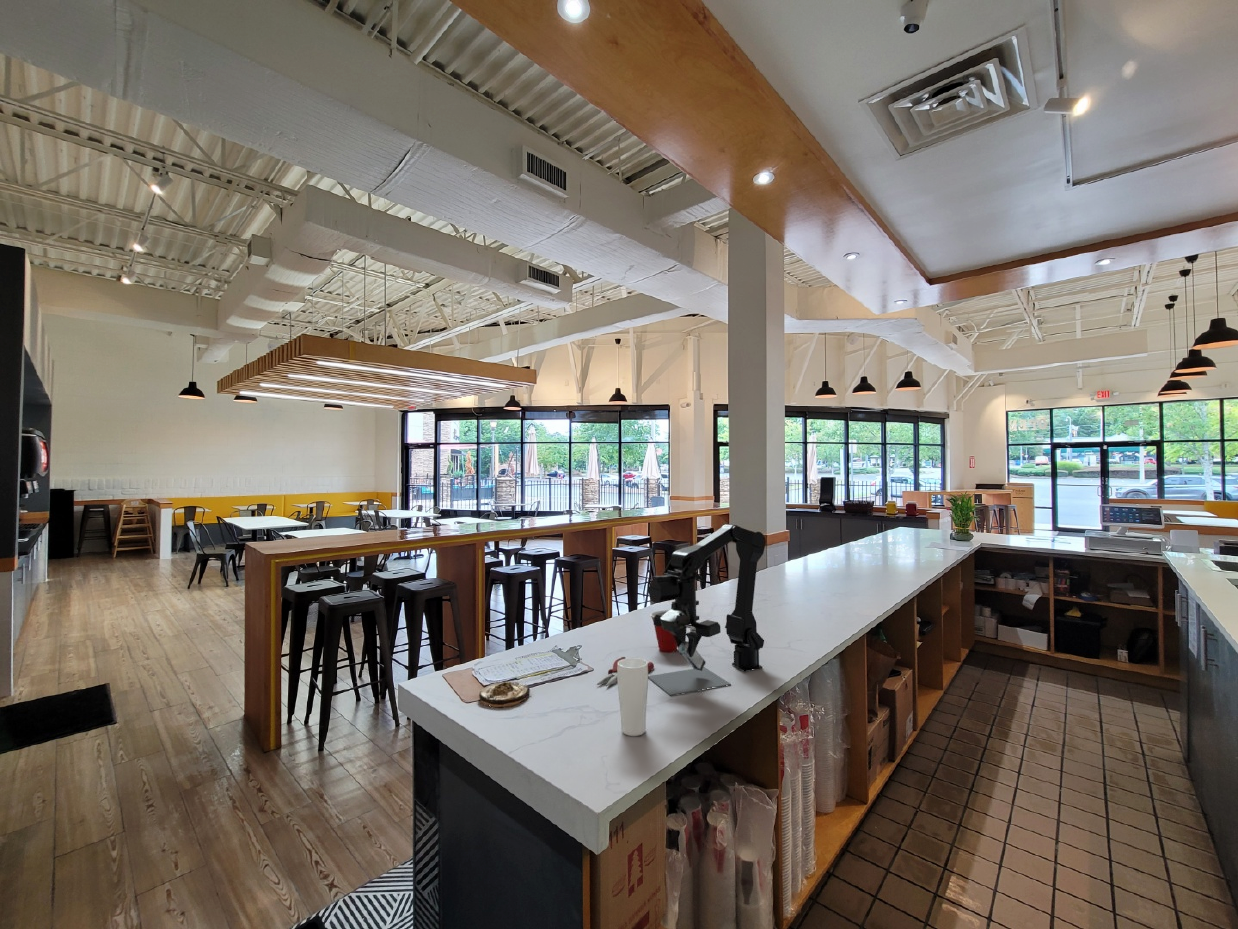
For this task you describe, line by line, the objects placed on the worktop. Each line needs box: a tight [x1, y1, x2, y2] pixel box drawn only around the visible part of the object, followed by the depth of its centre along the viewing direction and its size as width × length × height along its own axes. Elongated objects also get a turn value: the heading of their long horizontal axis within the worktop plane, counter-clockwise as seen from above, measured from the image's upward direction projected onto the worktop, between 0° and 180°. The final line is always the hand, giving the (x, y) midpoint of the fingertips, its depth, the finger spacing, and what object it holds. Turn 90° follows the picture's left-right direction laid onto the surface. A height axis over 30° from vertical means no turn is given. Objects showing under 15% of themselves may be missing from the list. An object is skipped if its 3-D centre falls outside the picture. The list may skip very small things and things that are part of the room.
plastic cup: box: [649, 609, 678, 653], centre depth 175 cm, size 11×11×12 cm
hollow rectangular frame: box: [677, 640, 706, 671], centre depth 147 cm, size 3×3×11 cm
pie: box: [478, 680, 532, 709], centre depth 138 cm, size 15×15×4 cm
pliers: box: [596, 656, 655, 688], centre depth 152 cm, size 12×20×3 cm, turn 149°
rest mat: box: [648, 666, 732, 697], centre depth 147 cm, size 18×14×1 cm
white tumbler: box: [617, 657, 649, 737], centre depth 118 cm, size 7×7×15 cm
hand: (686, 655), depth 146 cm, fingers closed on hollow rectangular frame, 3 cm apart
